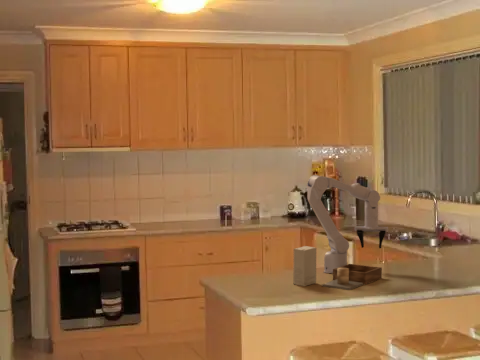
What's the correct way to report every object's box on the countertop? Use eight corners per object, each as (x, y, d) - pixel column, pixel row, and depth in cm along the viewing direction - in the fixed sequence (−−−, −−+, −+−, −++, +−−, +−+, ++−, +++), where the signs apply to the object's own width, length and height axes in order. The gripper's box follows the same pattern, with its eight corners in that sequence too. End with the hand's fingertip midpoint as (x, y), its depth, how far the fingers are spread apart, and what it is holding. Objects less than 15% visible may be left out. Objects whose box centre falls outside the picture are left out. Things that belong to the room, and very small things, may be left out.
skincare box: (305, 281, 302) (305, 245, 301) (317, 283, 298) (317, 247, 297) (292, 284, 296) (292, 247, 295) (304, 286, 292) (304, 249, 291)
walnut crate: (332, 279, 304) (332, 269, 304) (349, 274, 317) (349, 263, 316) (365, 284, 296) (366, 273, 295) (381, 278, 308) (381, 267, 308)
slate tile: (322, 286, 292) (322, 284, 292) (336, 281, 302) (336, 279, 302) (349, 290, 285) (349, 287, 285) (363, 284, 295) (363, 282, 295)
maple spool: (335, 283, 293) (335, 269, 292) (340, 281, 296) (340, 267, 296) (346, 285, 290) (346, 270, 290) (350, 283, 294) (350, 268, 294)
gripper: (353, 217, 320) (353, 248, 321) (387, 218, 316) (387, 249, 317) (355, 215, 327) (355, 245, 328) (388, 216, 323) (388, 247, 323)
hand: (371, 247), depth 323 cm, fingers open, 7 cm apart
